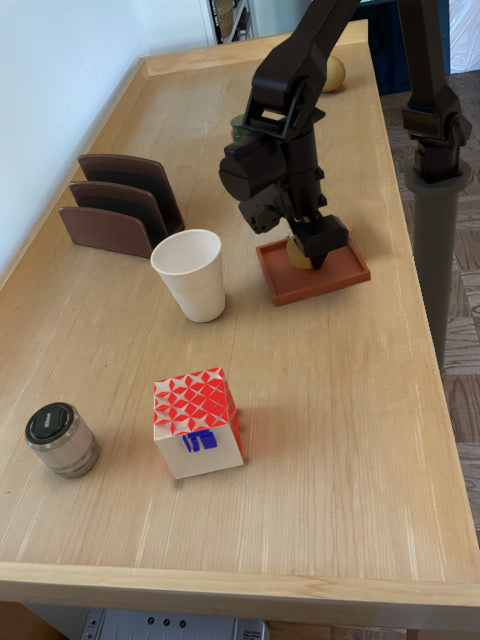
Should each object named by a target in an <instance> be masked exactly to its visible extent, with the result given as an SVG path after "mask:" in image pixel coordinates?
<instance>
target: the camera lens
mask: <svg viewBox="0 0 480 640" xmlns="http://www.w3.org/2000/svg"><path fill="white" fill-rule="evenodd" d="M24 441H25V443H26V444H27V445H28V446H29V448H30V449H31V450H32V452H34V453H35V454H36V456H37V457H38V458H39V459H40V460H41V461H42V462H43V463H44V465H45V467H47V469H48V470H49V471H51V472H53V474H55V475H57V476H59V477H61V478H63V479H74V478H79V477H80V476H82V475H85V474H86V473H87V472H88V471H89V470H91V468H92V467H93V466H94V465H95V463H96V462H97V460H98V457H99V450H100V446H99V444H98V441H97V439H96V436H95V434H94V432H93V430H91V427H90V426H89V425H88V424H87V422H86V421H85V419H84V418H83V417H82V415H81V413H80V412H79V411H78V409H77V407H75V406H74V405H73V404H71V403H69V402H66V401H65V402H64V401H56V402H51V403H49V404H46V405H43V406H42V407H41V408H39V409H38V410H36V411H35V412H34V413H33V414H32V415H31V417H30V418H29V419H28V421H27V423H26V425H25V428H24Z"/></svg>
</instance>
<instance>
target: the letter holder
mask: <svg viewBox="0 0 480 640" xmlns="http://www.w3.org/2000/svg"><path fill="white" fill-rule="evenodd" d="M77 162H78V163H77V164H78V165H79V166H80V169H81V171H82V173H83V175H84V177H85V179H86V180H74V181H70V182H69V183H68V189H69V191H70V193H71V196H72V197H73V199H74V201H75V203H76V205H77V206H61V207H59V208H58V214H59V217H60V218H61V219H60V220H61V221H62V223H63V225H64V228H65V229H66V231H67V234H68V235H69V238H70V239H71V241H72V243H73V244H76V245H81V246H85V247H90V248H97V249H100V250H101V249H102V250H106V251H112V252H117V253H122V254H126V255H131V256H137V257H142V258H147V259H151V255H152V252H153V251H154V249H155V248H156V247H157V246H158V245H159V244H160V243H161V242H162V241H163V240H165V239H166V238H168V237H170V236H172V235H174V234H176V233H179V232H182V231H184V229H185V227H186V224H185V221H184V218H183V215H182V213H181V210H180V208H179V204H178V202H177V200H176V196H175V194H174V191H173V189H172V186H171V184H170V180H169V178H168V176H167V172H166V170H165V168H164V165H163V164H162V163H161V162H160V161H157V160H153V159H149V158H145V157H139V156H135V155H128V154H127V155H126V154H117V153H86V154H79V155H78V156H77Z"/></svg>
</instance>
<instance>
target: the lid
mask: <svg viewBox="0 0 480 640" xmlns="http://www.w3.org/2000/svg"><path fill="white" fill-rule="evenodd" d="M291 237H292V238H291V239H290V240H289V241H288V242H287V246H286V247H287V256H288V258H289V262H290V263H291V264H292V265H293V266H295V267H298V268H302V269H308V268H312V265H311V263H310V260H309V258H306V257H304V255H303V254H302V252H301V250H300V249H299V248H298V247H297V245H296V244H295V242H294V241H293V239H295V236H293V235H292V236H291ZM328 257H329V253H328V255H327V257H326V259H325V261H326V260H327V259H328ZM325 261H324V262H325Z"/></svg>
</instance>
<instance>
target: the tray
mask: <svg viewBox="0 0 480 640" xmlns="http://www.w3.org/2000/svg"><path fill="white" fill-rule="evenodd" d="M292 237H293V236H291V237H287V238H284V239H283V238H282V239H280V240H276V241H272V242H269V243H265V244H262V245H259V246H255V247H254V249H255V253H256V256H257V259H258V262H259V265H260V268H261V270H262V273H263V276H264V279H265V281H266V284H267V287H268V289H269V293H270V296H271V298H272V300H273V303H274V307H280V306H283V305H287V304H291V303H294V302H298V301H301V300H305V299H309V298H312V297H316V296H320V295H324V294H327V293H331V292H334V291H337V290H341V289H345V288H349V287H352V286H356V285H359V284H362V283H366V282H370V281H372V273H371V270H370V268H369V267H368V265H367V263H366V261H365V260H364V258H363V257H362V255H361V253H360V251H358V249H357V247H356V245H355V244H354V242H353V241H352V239H351V237H350V236H349V240H350V242H349V244H348V246H345V247H342V248H339V249H337V250H334V251H331V252H329V257H328V259H327V260H326V261H325V262H324V263H323V265H322V267H321V269H319V270H316V271H314V270H313V268H308V269H302V268H298V267H295V266H293V265H292V264H291V263H290V262H289V258H288V256H287V247H286V246H287V242H288V241H289V240H290V239H291V238H292Z"/></svg>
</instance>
